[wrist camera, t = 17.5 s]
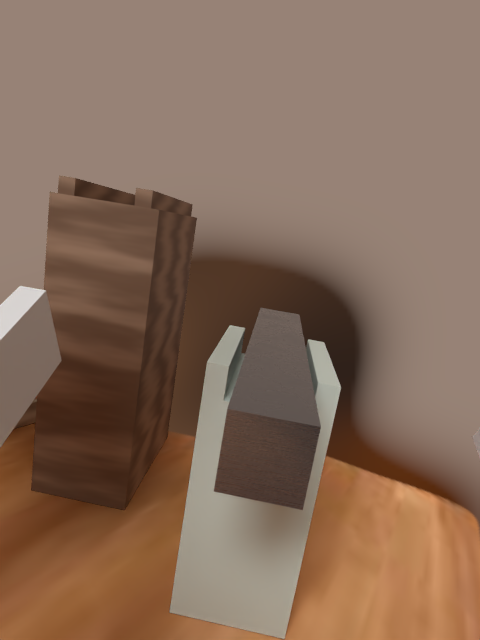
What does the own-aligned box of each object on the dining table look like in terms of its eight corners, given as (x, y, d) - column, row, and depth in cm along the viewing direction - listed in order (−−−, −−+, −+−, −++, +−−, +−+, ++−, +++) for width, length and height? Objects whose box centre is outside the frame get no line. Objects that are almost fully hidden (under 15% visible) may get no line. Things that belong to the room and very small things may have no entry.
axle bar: (302, 510, 18) (320, 427, 18) (213, 491, 19) (227, 408, 18) (291, 351, 44) (299, 314, 43) (254, 344, 44) (260, 307, 43)
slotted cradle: (284, 639, 32) (340, 387, 28) (169, 612, 32) (207, 362, 28) (284, 530, 43) (323, 342, 39) (199, 512, 44) (229, 325, 40)
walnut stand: (124, 510, 43) (161, 191, 36) (31, 490, 43) (50, 174, 37) (167, 436, 58) (198, 205, 52) (98, 423, 59) (120, 192, 52)
